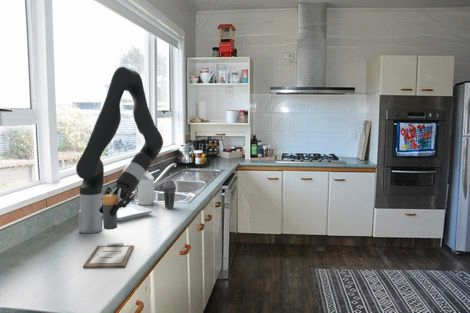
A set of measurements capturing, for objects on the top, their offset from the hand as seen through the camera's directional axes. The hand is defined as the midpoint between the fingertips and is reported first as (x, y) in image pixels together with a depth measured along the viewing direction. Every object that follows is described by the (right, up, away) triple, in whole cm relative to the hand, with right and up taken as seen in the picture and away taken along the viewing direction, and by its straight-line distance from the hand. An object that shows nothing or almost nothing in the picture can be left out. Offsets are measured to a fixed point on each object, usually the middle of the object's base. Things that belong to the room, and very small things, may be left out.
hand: (105, 213), depth 139 cm
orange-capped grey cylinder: (+1, -5, +2) cm, 6 cm away
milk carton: (-5, -7, +85) cm, 85 cm away
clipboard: (0, -17, +4) cm, 17 cm away
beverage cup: (+10, -8, +76) cm, 77 cm away
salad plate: (-10, -10, +59) cm, 61 cm away
